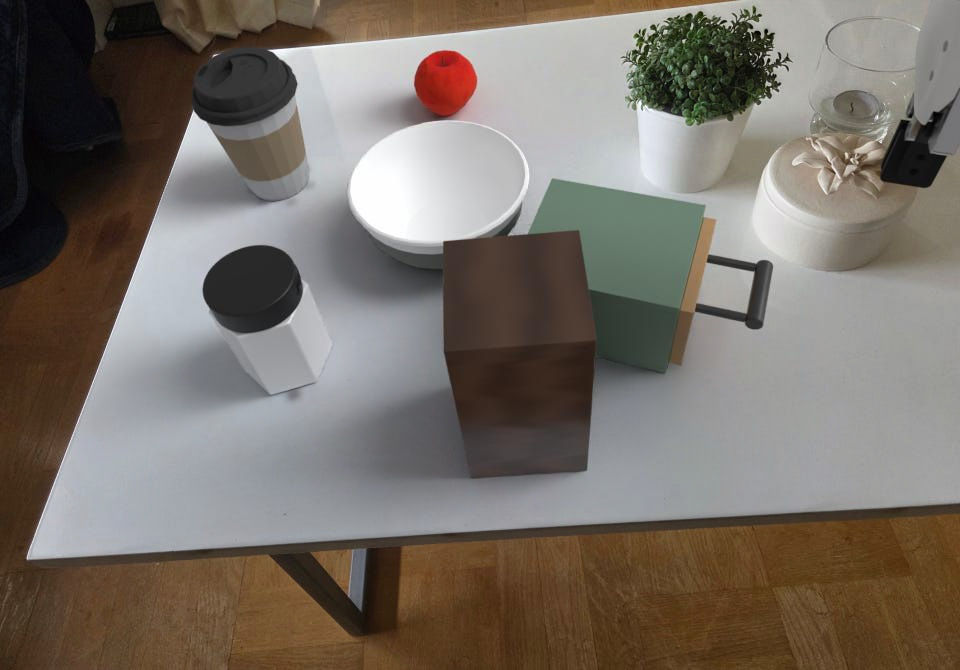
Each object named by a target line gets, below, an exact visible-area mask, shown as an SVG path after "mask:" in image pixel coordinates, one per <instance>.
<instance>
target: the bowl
mask: <svg viewBox="0 0 960 670" xmlns="http://www.w3.org/2000/svg"><path fill="white" fill-rule="evenodd" d="M529 183H530V168H529V163H528V161H527V159H526V157H525V155H524V152H523V151H522V150H521V149H520V147H518V145H517V144H516V142H514V141H513V140H512V139H511V138H510V137H508V136H507V135H505V134H504V133H502V132H501V131H499V130H496V129H494V128H492V127H490V126H487V125H484V124H480V123H478V122H471V121H466V120H465V121H464V120H447V119H445V120H433V121H427V122H422V123H418V124H414V125H410V126H406V127H404V128H402V129H398V130H396V131H394V132H392V133H390V134H389V135H386V136H384V137H383V138H381V139H380V140H378V141H377V142H376V143H374V144H373V145H371V146H370V147H369V148H368V149H367V150H366V151H365V152H364V153H363V154H362V155H361V156H360V157H359V159H358V160H357V162H356V164H355V165H354V167H353V168H352V170H351V172H350V175H349V178H348V181H347V188H346V198H347V203H348V207H349V209H350V211H351V212H352V214H353V216H354V218H355V219H356V220H357V221H358V222H359V223H360V224H361V226H362V227H363V229H364V230H365V232H366V234H367V236H368V237H369V239H370V240H371V241H372V243H373V244H374V245H375V246H376V247H377V248H378V249H380V250H381V251H383V252H384V253H386V254H387V255H389V256H390V257H391V258H392V259H395V260H396V261H398V262H400V263H403V264H406V265H408V266H412V267H416V268H421V269H433V270H435V269H436V270H443V241H451V240H463V239H475V238H487V237H499V236H509V235H510V233H511V232H512V231H513V229H514V228H515V227H516V225H517V223H518V221H519V219H520V216H521V215H522V208H523V201H524V198H525V196H526V194H527V191H528V188H529Z"/></svg>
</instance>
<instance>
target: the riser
mask: <svg viewBox="0 0 960 670" xmlns="http://www.w3.org/2000/svg"><path fill="white" fill-rule="evenodd" d="M442 325H443V327H442V331H443V333H442V334H443V335H442V336H443V339H442V340H443V341H442V342H443V343H442V345H443V346H442V349H443V350H442V351H443V357H444V361H445V366H446V369H447V374H448V379H449V385H450V388H451V393H452V399H453V402H454V403H453V404H454V408H455V411H456V417H457V421H458V425H459V430H460V435H461V439H462V444H463V449H464V453H465V457H466V462H467V467H468V472H469V476H470V479H480V478H481V479H483V478H495V477H496V478H497V477H510V476H511V477H512V476H513V477H514V476H526V475H540V474H541V475H543V474H555V473H568V472H569V473H572V472H585V471H586V472H587V471H588V464H589V463H588V462H589V450H590V438H591V437H590V436H591V425H592V424H591V422H592V410H593V398H594V397H593V396H594V382H595V371H596V370H595V369H596V358H597V357H596V344H597V338H596V331H595V325H594V319H593V313H592V306H591V300H590V294H589V287H588V281H587V275H586V269H585V262H584V256H583V250H582V243H581V237H580V231H579V230H571V231H559V232H547V233H535V234H528V233H523V234H514V235H513V234H511V235H508V236H499V237H487V238H475V239H463V240H451V241H443V268H442Z"/></svg>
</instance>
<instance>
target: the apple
mask: <svg viewBox="0 0 960 670" xmlns="http://www.w3.org/2000/svg"><path fill="white" fill-rule="evenodd" d="M413 87H414V90H415V94H416V96H417V98H418V100H420V102H421V103H422V105H423V106H424V107H425V108H426V109H428V110H429V111H431V112H432V113H434V114H436V115H438V116H442V117H445V116H452V115H454V114H456V113H458V112H459V111H460V110H462V108H464V107H465V106H466V105H467V104H468V102H469V101H470V99H471V98H472V97H473V95H474V94H475V91H476V89H477V87H478V75H477V73H476V71H475V68H474V65H473V64H472V62H471V61H470V60H469V59H468V58H466V56H464V55H463V54H461V53H460V52H459V51H456V50H446V49H444V50H443V49H442V50H437V51H434V52H432V53H429V54H428V55H427V56H426V57H424V58H423V59H422V60H421V61H420V63H419V64H418V66H417V68H416V71H415V74H414V80H413Z"/></svg>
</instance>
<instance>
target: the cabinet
mask: <svg viewBox="0 0 960 670" xmlns="http://www.w3.org/2000/svg"><path fill="white" fill-rule="evenodd" d="M706 207H707V205H706V204H700V203H696V202H690V201H685V200H678V199H672V198H668V197H661V196H657V195H656V196H655V195H651V194H646V193H638V192H633V191H627V190H622V189H615V188H611V187H604V186H599V185H595V184H588V183H581V182H576V181H571V180H564V179H558V178H554V177H553V178H551V180H550V182H549V185H548V186H547V189H546V191H545V193H544V196H543V197H542V200H541V203H540V205H539V207H538V209H537V212H536V214H535V216H534V219H533V221H532V223H531V226H530V227H529V230H528V232H527V234H535V233H547V232H559V231H571V230H579V231H580V237H581V243H582V250H583V256H584V262H585V269H586V275H587V281H588V287H589V294H590V300H591V306H592V313H593V319H594V325H595V331H596V338H597V344H596V357H595V358H599V359H600V358H601V359H603V360H609V361H611V362H612V361H613V362H617V363H620V364H624V365H630V366H633V367H638V368H641V369H647V370H649V371H655V372H659V373H663V374H666V373H667V369H668V365H669V362H668V361H669V356H670V352H671V347H672V343H673V338H674V333H675V329H676V324H677V320H678V315H679V310H680V306H681V302H682V299H683V295H684V291H685V287H686V283H687V279H688V275H689V271H690V267H691V263H692V259H693V256H694V252H695V248H696V244H697V240H698V236H699V232H700V228H701V224H702V220H703V217H705V212H706V209H707V208H706Z"/></svg>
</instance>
